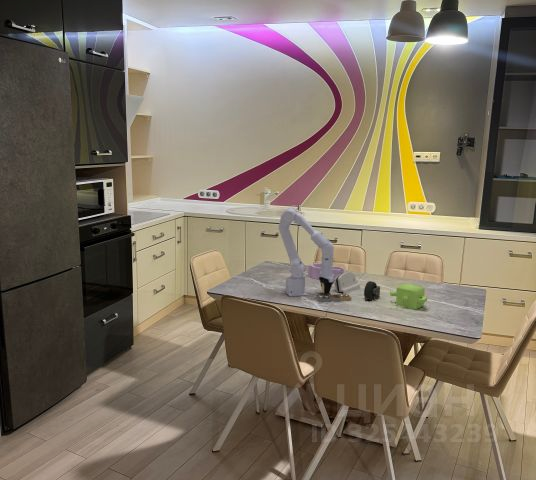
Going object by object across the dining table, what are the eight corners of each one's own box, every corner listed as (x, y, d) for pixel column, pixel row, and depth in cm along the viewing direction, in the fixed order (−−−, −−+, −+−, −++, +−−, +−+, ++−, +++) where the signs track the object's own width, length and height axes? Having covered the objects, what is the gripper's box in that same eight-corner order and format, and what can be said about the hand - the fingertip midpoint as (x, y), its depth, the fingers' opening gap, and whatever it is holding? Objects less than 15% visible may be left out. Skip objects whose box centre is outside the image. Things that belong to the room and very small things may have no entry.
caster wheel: (371, 304, 243) (384, 294, 254) (372, 285, 240) (384, 276, 252) (361, 301, 246) (373, 292, 257) (361, 283, 243) (374, 274, 255)
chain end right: (331, 301, 242) (331, 297, 241) (326, 297, 248) (327, 293, 247) (351, 300, 244) (351, 296, 244) (346, 296, 250) (346, 292, 250)
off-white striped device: (343, 294, 254) (339, 275, 255) (336, 295, 258) (331, 276, 258) (360, 287, 267) (356, 269, 267) (353, 288, 270) (349, 271, 270)
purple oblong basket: (346, 278, 285) (346, 267, 284) (337, 283, 275) (337, 271, 273) (315, 273, 296) (315, 261, 294) (305, 277, 285) (305, 265, 284)
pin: (323, 297, 249) (323, 284, 247) (320, 295, 252) (321, 282, 251) (330, 296, 249) (330, 283, 248) (327, 294, 253) (328, 281, 252)
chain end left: (320, 302, 240) (320, 298, 240) (316, 298, 246) (316, 294, 246) (340, 301, 243) (340, 297, 242) (336, 297, 248) (336, 293, 248)
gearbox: (385, 304, 241) (386, 286, 239) (395, 299, 248) (395, 281, 246) (420, 312, 229) (421, 293, 227) (429, 306, 237) (430, 287, 235)
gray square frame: (322, 297, 248) (322, 295, 248) (319, 294, 253) (319, 292, 252) (331, 297, 249) (331, 294, 249) (328, 294, 254) (328, 292, 253)
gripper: (339, 269, 242) (338, 296, 244) (329, 262, 256) (328, 287, 258) (326, 270, 240) (324, 296, 243) (316, 263, 254) (315, 288, 257)
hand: (325, 292), depth 250 cm, fingers closed on pin, 4 cm apart
